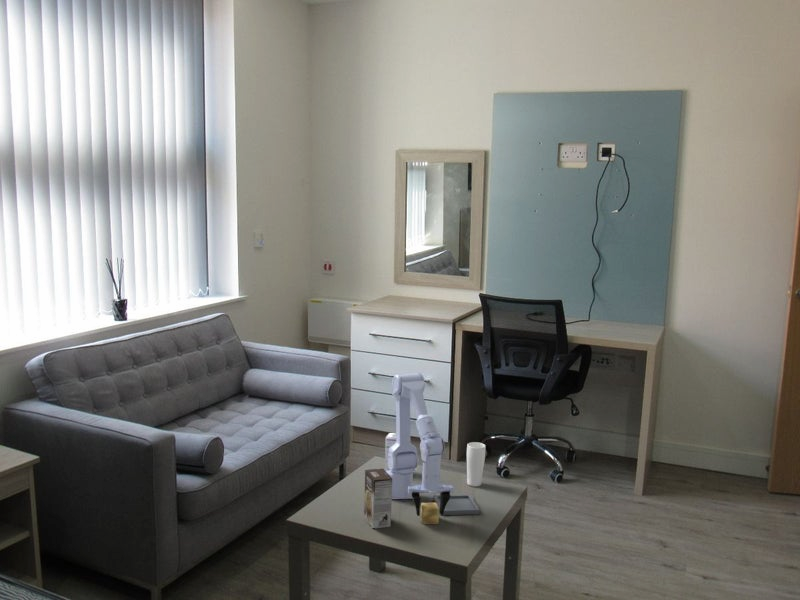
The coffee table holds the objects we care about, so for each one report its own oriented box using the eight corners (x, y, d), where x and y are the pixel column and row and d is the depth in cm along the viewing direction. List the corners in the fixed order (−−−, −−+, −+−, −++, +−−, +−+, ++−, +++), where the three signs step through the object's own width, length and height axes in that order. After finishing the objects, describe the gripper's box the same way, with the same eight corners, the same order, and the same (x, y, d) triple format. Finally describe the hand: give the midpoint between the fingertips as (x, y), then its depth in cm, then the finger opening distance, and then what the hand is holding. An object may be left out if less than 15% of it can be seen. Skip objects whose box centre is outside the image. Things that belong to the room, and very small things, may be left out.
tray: (440, 515, 235) (441, 510, 235) (433, 499, 248) (433, 495, 248) (479, 514, 237) (479, 509, 237) (470, 498, 250) (470, 494, 250)
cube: (423, 524, 228) (423, 509, 228) (420, 517, 233) (421, 502, 232) (438, 523, 229) (439, 508, 228) (435, 517, 234) (436, 502, 233)
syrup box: (399, 475, 269) (400, 438, 267) (384, 473, 270) (385, 436, 268) (402, 470, 275) (403, 433, 273) (387, 468, 276) (388, 432, 274)
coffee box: (363, 517, 232) (364, 469, 230) (381, 514, 234) (383, 467, 232) (372, 529, 223) (373, 479, 221) (391, 526, 225) (393, 477, 223)
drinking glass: (482, 488, 259) (485, 449, 257) (464, 486, 260) (466, 447, 258) (483, 481, 265) (486, 443, 263) (465, 480, 266) (467, 441, 264)
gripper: (410, 478, 224) (409, 520, 226) (456, 477, 226) (454, 518, 228) (407, 470, 231) (406, 511, 233) (451, 469, 233) (449, 509, 235)
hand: (429, 514), depth 231 cm, fingers open, 7 cm apart
